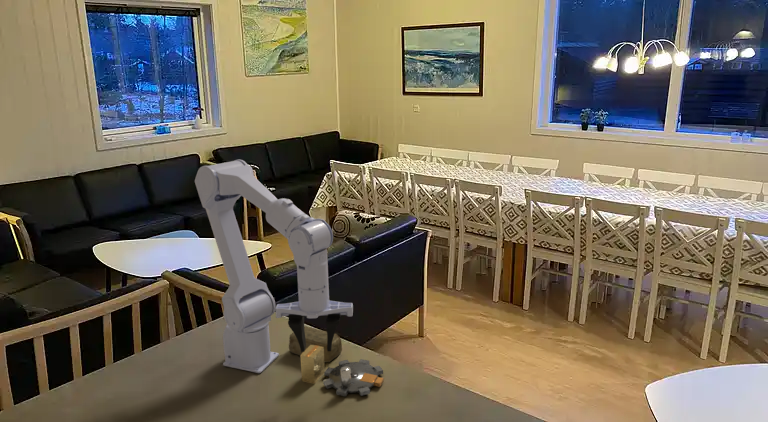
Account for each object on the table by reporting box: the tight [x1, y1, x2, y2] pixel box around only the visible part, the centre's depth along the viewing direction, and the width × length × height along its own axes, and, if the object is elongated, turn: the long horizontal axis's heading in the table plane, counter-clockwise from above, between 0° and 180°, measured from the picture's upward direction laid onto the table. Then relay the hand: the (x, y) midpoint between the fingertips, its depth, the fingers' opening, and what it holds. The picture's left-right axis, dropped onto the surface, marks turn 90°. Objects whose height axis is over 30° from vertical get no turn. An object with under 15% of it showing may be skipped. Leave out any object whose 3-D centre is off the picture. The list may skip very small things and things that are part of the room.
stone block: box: [288, 325, 343, 363], centre depth 122 cm, size 6×12×5 cm, turn 64°
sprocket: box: [322, 359, 385, 397], centre depth 111 cm, size 12×12×4 cm
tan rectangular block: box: [299, 345, 326, 385], centre depth 113 cm, size 3×4×6 cm, turn 160°
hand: (316, 348), depth 106 cm, fingers open, 4 cm apart
